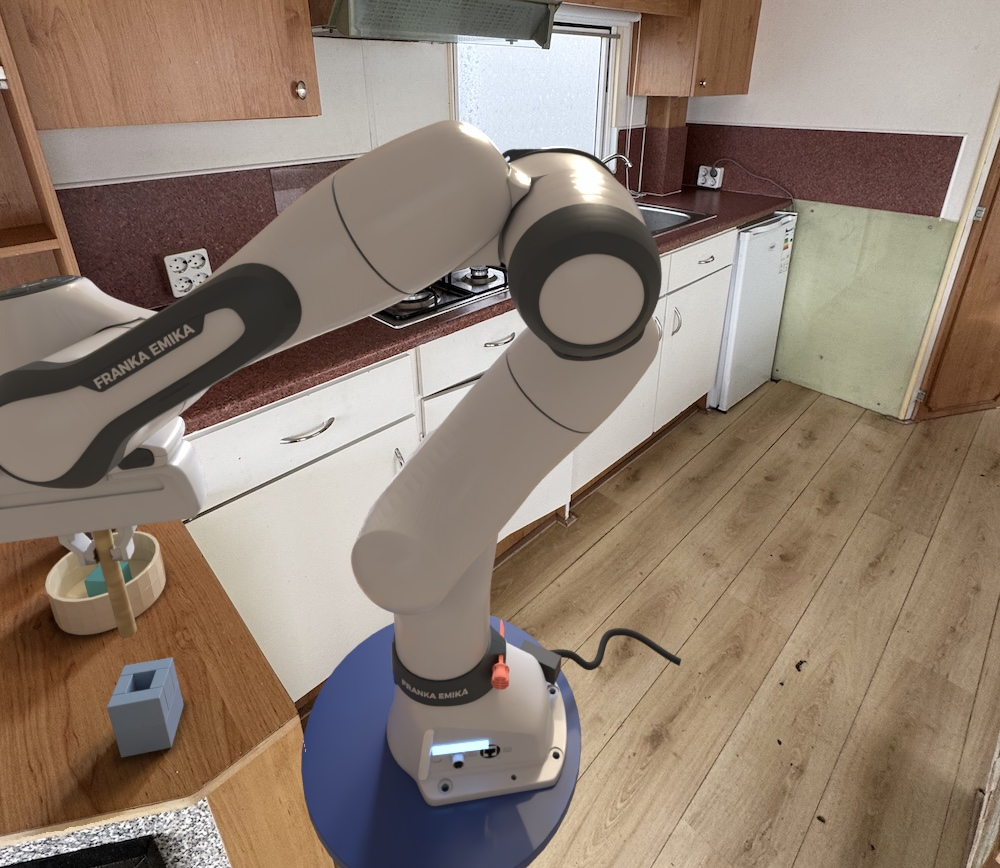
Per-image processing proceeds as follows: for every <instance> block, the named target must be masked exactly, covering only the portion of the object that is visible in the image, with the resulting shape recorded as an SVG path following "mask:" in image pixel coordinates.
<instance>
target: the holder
mask: <svg viewBox="0 0 1000 868" xmlns="http://www.w3.org/2000/svg"><path fill="white" fill-rule="evenodd" d="M183 700H184V699H183V696H182V692H181V687H180V683H179V680H178V674H177V671H176V666H175V661H174V657H167V658H160V659H155V660H149V661H142V662H138V663H131V664H125V665H124V666H123V668H122V669H121V673H120V675H119V677H118V680H117V682H116V685H115V687H114V690H113V692H112V694H111V697H110V699H109V701H108V704H107V706H106V710H107V714H108V716H109V720H110V724H111V727H112V730H113V733H114V738H115V741H116V745H117V747H118V751H119V755H120V757H121V758H127V757H131V756H136V755H137V756H138V755H142V754H146V753H151V752H157V751H161V750H165V749H170V748H172V747H173V743H174V740H175V737H176V733H177V730H178V726H179V723H180V719H181V715H182V713H183V709H184V705H185V704H184V701H183Z"/></svg>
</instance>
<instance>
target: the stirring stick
mask: <svg viewBox="0 0 1000 868" xmlns="http://www.w3.org/2000/svg"><path fill="white" fill-rule="evenodd" d="M91 533H92V537H93V541H94V544H95V548H96V551H97V555H98V559H99V562H100V566H101V569H102V573H103V577H104V580H105V584H106V587H107V591H108V595H109V598H110V602H111V605H112V609H113V613H114V616H115V620H116V623H117V627H116V628H117V630H118V634H119V637H120V638H121V639H123V640H125V639H129V638H132V637H133V636H134V635H135V634H136V633H137V631H138V627H137V623H136V618H134V615H133V611H132V608H131V604H130V600H129V596H128V592H127V589H126V585H125V581H124V577H123V573H122V570H121V566H120V562H119V561H113V560H112V557H113V556H112V555H111V553H110V548H111V546H112V545H113V544H114V539H113V535H112V532H111V529H107V530H100V531H92V532H91Z"/></svg>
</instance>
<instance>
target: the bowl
mask: <svg viewBox="0 0 1000 868" xmlns="http://www.w3.org/2000/svg"><path fill="white" fill-rule="evenodd" d="M112 535H113V539H114V541H115V539H116V538H119V537H124V535H125V533H124V534H122V535H119V534H118V532H116V533H112ZM132 539H133V543H134V552H133V554H132V556H131V558H130V559H128V560H120V561H119V562H128V563H129V567H130V571H131V575H132V579H133V580H131V581H129V582H128V583H126V584H125V585H126V589H127V592H128V596H129V600H130V604H131V608H132V611H133V615H134V619H136V618H137V617H138V616H141V614H143V613H144V612H145V611H147V610H148V609H149V608H150V607H151V606H152V605H153V604H154V603H155V602H156V601H157V599H158V598H159V597H160V596H161V594H162V593H163V590H164V589H165V585H166V580H167V576H166V569H165V564H164V559H163V555H162V551H161V547H160V546H161V545H160V544H159V542H158V540H157V538H156V537H155V536H153V535H152V534H150V533H148V532H144V531H139V530H135V532H134V534H133V536H132ZM91 541H93V540H91ZM99 564H100V562H99V563H98V564H93V565H85V566H80V563H79V560H78V556H77V554H74V553H73V552H72V551H69V552H68V553H67V554H65V555H64V556H63V557H62V558H60V560H58V561H57V562H56V563H55V564H54V566H53V567H52V568H51V569H50V570H49V572H48V574H47V576H46V579H45V583H44V588H45V591H46V592H45V593H46V595H47V598H48V601H49V604H50V608H51V611H52V614H53V617H54V621H55V623H56V625H57V627H59V629H61V630H62V631H64V632H65V633H68V634H71V635H78V636H88V635H96V634H100V633H105V632H107V631H111V630H113V629H116V628H118V627H117V623H116V620H115V616H114V613H113V609H112V605H111V602H110V598H109V595H108V593H105V594H101V595H98V596H95V597H90V598H89V597H88V593H87V590H86V586H85V583H84V580H85V579H86V578H87V577H88V576H89V575H90V574H91V573H92V572H93V571H94V570H95V569H96V567H97V566H98V565H99Z"/></svg>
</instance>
